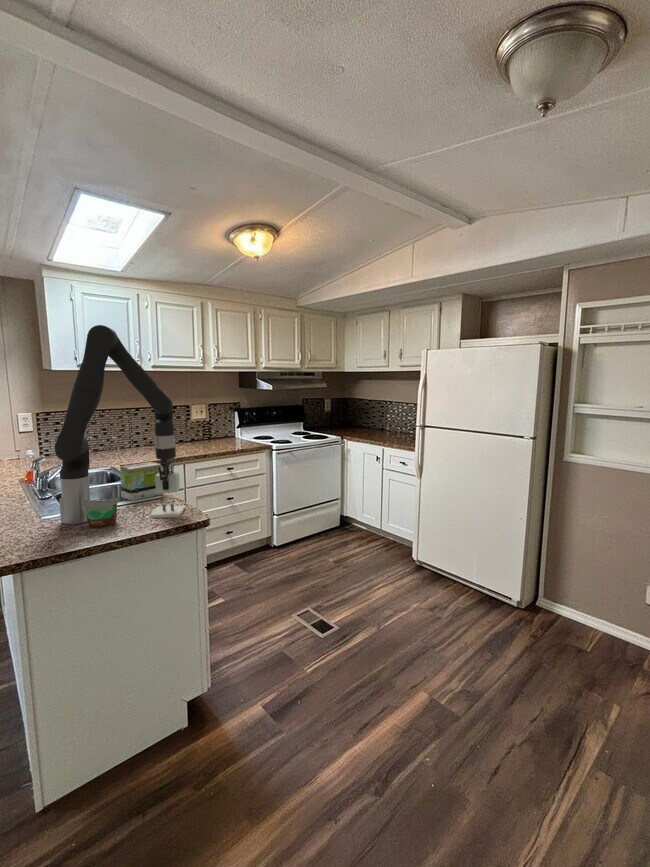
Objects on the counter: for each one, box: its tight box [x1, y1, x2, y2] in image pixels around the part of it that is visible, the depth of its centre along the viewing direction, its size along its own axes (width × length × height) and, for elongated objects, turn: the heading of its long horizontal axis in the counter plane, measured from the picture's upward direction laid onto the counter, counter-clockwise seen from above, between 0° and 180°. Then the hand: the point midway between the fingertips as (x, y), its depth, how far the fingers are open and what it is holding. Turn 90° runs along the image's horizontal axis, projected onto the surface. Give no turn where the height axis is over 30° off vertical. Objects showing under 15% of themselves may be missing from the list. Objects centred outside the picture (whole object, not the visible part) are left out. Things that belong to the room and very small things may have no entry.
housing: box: [155, 471, 181, 494], centre depth 165 cm, size 8×5×7 cm, turn 97°
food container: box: [82, 496, 120, 529], centre depth 151 cm, size 12×6×10 cm, turn 105°
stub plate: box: [149, 503, 186, 519], centre depth 167 cm, size 11×11×4 cm
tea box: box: [119, 461, 163, 501], centre depth 189 cm, size 15×10×15 cm, turn 143°
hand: (167, 487), depth 165 cm, fingers closed on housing, 5 cm apart
